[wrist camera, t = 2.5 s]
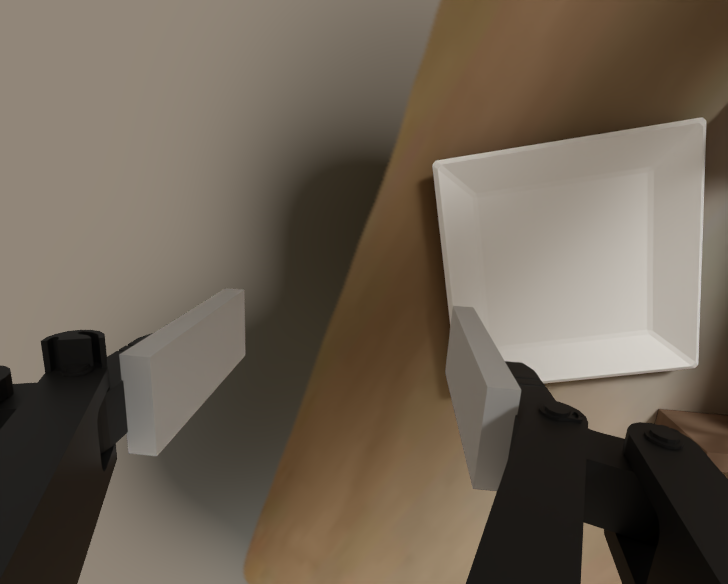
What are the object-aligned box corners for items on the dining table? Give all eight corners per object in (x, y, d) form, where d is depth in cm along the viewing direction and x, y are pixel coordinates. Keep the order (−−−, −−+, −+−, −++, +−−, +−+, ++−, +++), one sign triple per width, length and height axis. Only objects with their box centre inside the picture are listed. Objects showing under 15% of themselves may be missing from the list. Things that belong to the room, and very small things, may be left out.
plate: (455, 382, 38) (458, 393, 36) (430, 162, 33) (432, 161, 31) (683, 358, 36) (700, 369, 34) (689, 120, 31) (709, 116, 29)
